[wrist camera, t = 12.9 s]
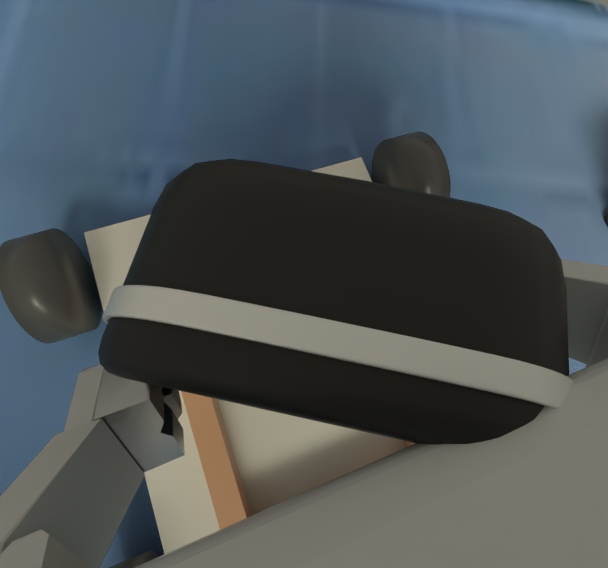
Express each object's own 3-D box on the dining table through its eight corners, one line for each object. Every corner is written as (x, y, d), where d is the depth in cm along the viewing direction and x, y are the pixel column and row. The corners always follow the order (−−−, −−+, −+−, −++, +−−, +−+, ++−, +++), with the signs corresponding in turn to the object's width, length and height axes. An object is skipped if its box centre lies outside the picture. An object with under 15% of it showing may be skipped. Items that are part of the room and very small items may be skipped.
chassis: (149, 677, 14) (100, 806, 10) (52, 253, 18) (-15, 215, 13) (535, 487, 17) (622, 522, 13) (388, 160, 21) (419, 105, 17)
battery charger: (403, 341, 16) (640, 180, 5) (391, 436, 14) (678, 501, 4) (243, 308, 16) (135, 88, 5) (218, 398, 15) (8, 353, 4)
